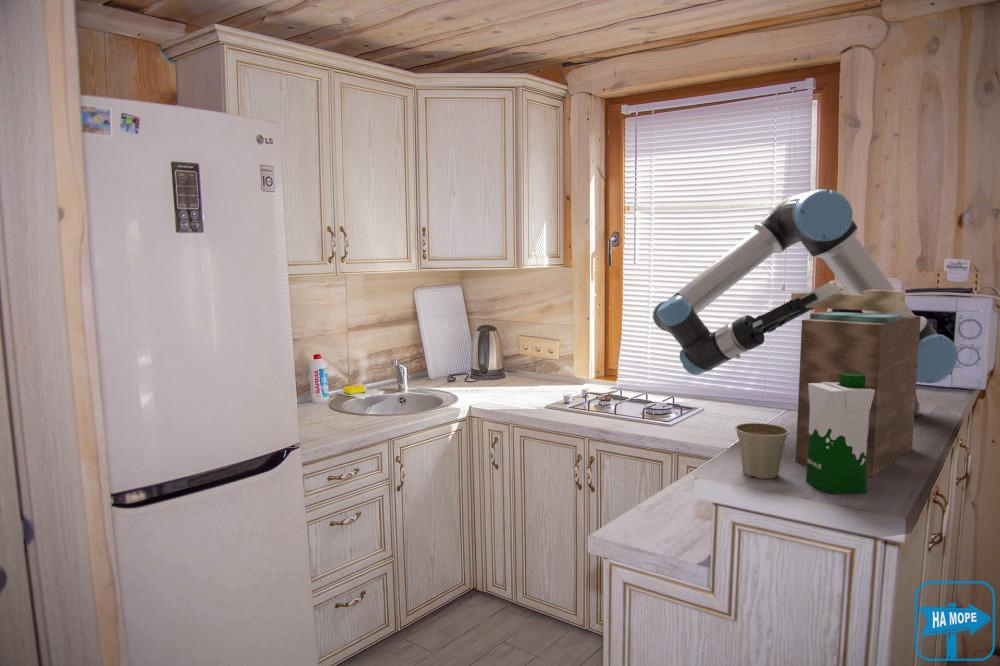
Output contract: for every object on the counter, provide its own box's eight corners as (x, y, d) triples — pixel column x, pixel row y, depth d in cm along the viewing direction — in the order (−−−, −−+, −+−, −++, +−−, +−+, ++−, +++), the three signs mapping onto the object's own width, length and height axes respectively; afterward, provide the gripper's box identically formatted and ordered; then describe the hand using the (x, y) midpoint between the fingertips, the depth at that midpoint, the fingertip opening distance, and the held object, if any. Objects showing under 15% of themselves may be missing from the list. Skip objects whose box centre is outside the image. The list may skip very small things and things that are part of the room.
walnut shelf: (795, 461, 140) (802, 314, 137) (841, 437, 158) (848, 307, 155) (872, 477, 130) (881, 319, 127) (912, 449, 149) (920, 311, 146)
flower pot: (761, 485, 126) (763, 437, 125) (722, 471, 134) (723, 426, 133) (798, 477, 130) (800, 431, 129) (758, 464, 138) (760, 420, 137)
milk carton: (874, 494, 121) (881, 378, 118) (823, 496, 120) (829, 379, 118) (845, 478, 129) (851, 369, 127) (797, 479, 129) (802, 370, 126)
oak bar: (788, 307, 153) (788, 288, 153) (799, 305, 158) (799, 287, 157) (895, 312, 139) (896, 291, 138) (904, 310, 143) (905, 290, 143)
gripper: (763, 347, 169) (856, 301, 154) (732, 354, 158) (829, 305, 142) (749, 319, 171) (839, 271, 156) (717, 324, 160) (811, 273, 144)
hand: (834, 288), depth 149 cm, fingers closed on oak bar, 3 cm apart
